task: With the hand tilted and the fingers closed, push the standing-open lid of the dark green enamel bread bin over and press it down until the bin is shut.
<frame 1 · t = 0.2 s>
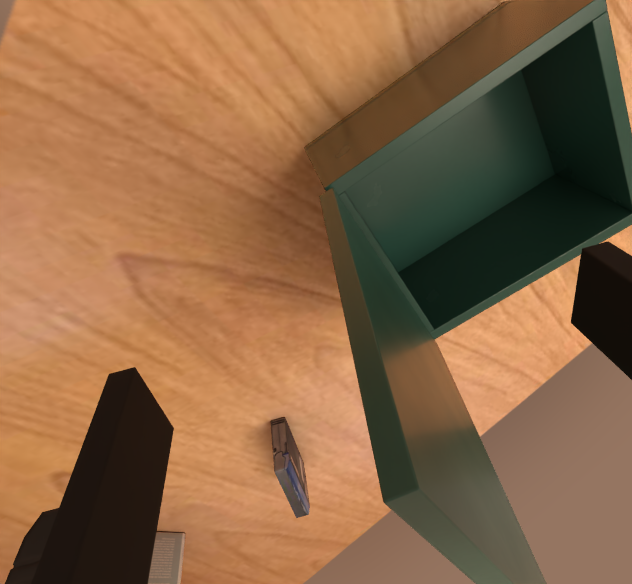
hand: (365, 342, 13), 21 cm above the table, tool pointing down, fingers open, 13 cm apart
bin lid: (424, 381, 19), point 17 cm above the table, hinge at 95.0°
bread bin: (439, 161, 32), on the table
mini dv tape: (287, 441, 47), on the table
hard drive box: (145, 562, 55), on the table
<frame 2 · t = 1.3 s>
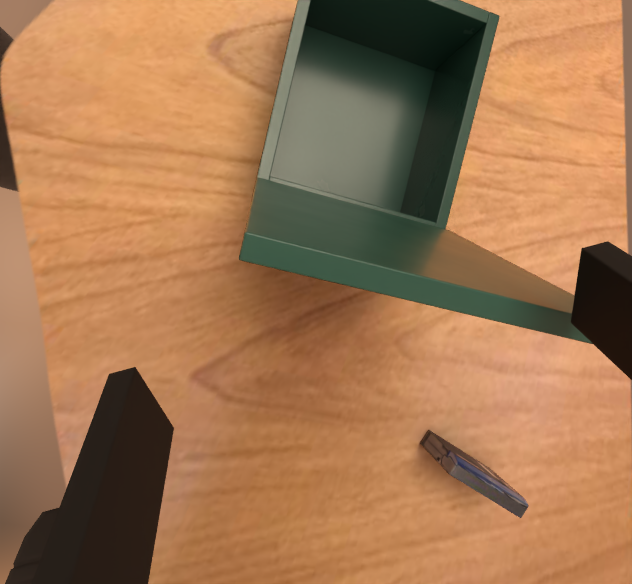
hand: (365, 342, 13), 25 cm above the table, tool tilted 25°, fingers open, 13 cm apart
bin lid: (388, 238, 21), point 17 cm above the table, hinge at 105.1°
bread bin: (348, 133, 37), on the table
mini dv tape: (454, 455, 42), on the table
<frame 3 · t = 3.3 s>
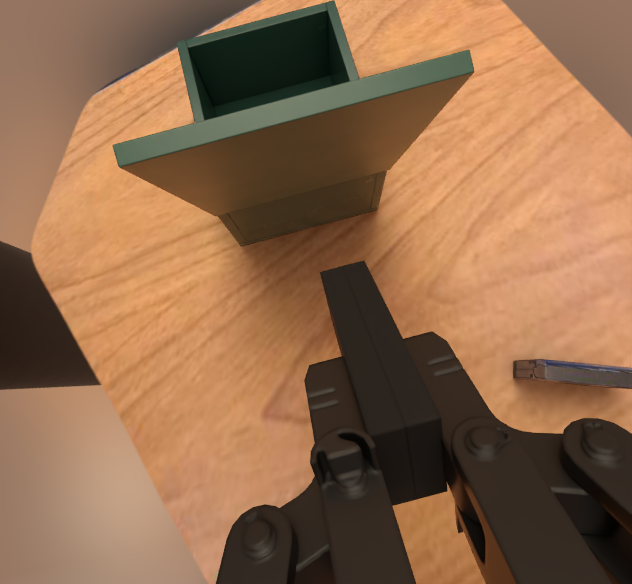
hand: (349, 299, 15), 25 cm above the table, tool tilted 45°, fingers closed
bin lid: (298, 161, 24), point 17 cm above the table, hinge at 105.1°
bread bin: (289, 156, 43), on the table
mini dv tape: (560, 374, 38), on the table
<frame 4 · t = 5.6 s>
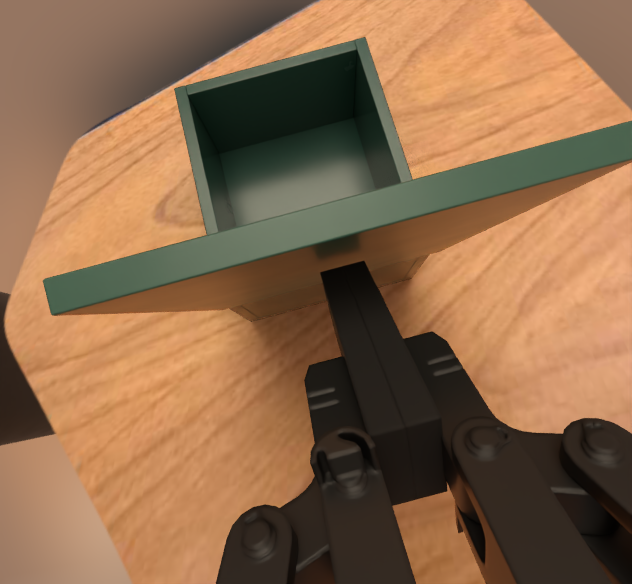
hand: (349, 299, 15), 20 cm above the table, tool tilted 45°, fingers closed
bin lid: (332, 259, 18), point 17 cm above the table, hinge at 99.2°, touching gripper
bread bin: (307, 213, 37), on the table
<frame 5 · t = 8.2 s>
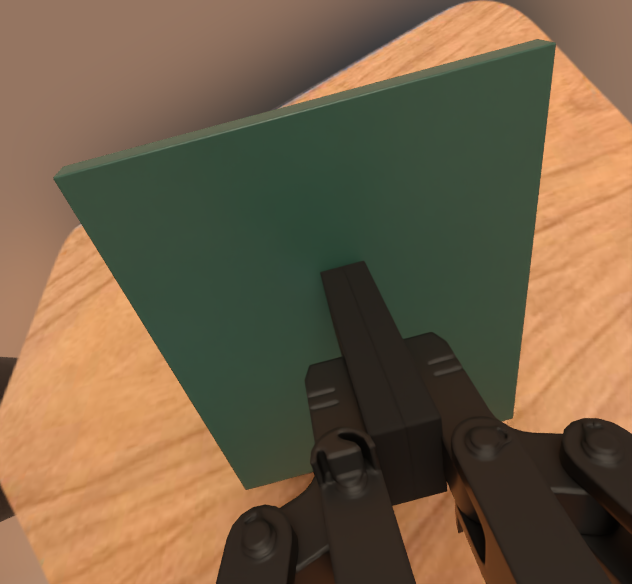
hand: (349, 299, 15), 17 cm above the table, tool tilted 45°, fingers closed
bin lid: (351, 328, 16), point 15 cm above the table, hinge at 48.2°, touching gripper
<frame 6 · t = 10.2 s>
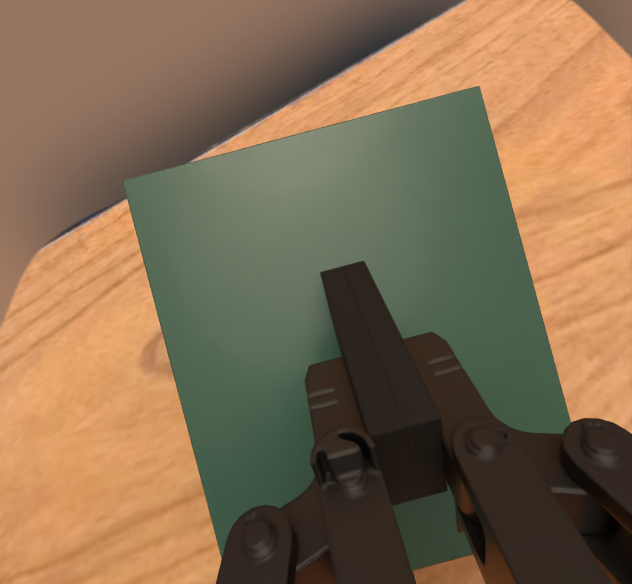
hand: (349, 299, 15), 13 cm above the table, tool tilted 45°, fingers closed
bin lid: (357, 348, 16), point 11 cm above the table, hinge at 10.5°, touching gripper
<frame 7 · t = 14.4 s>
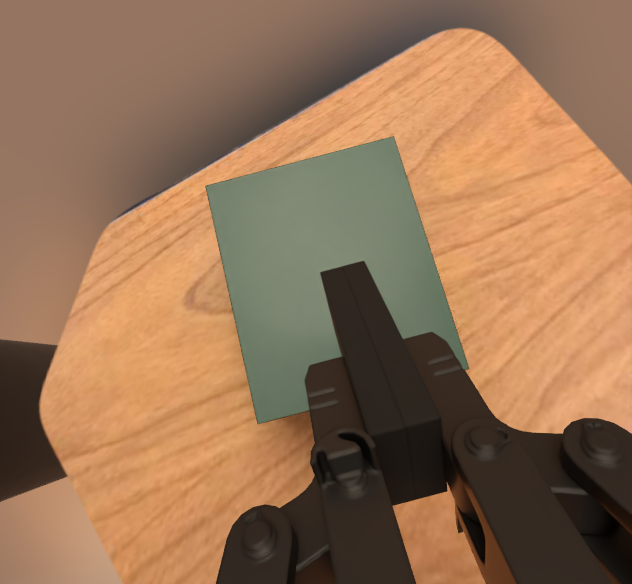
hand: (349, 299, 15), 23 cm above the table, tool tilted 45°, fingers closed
bin lid: (329, 273, 29), point 9 cm above the table, hinge at -0.2°, touching bread bin
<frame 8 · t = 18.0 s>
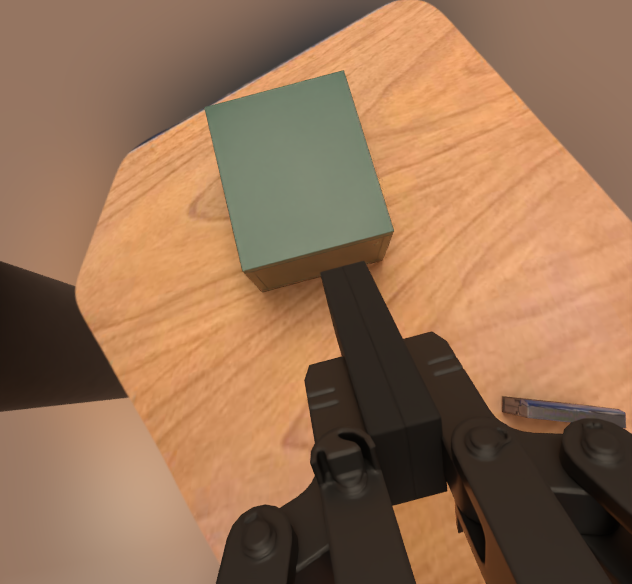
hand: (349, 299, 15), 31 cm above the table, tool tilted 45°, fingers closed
bin lid: (295, 168, 39), point 9 cm above the table, hinge at -0.2°, touching bread bin
bread bin: (304, 210, 48), on the table
mini dv tape: (543, 408, 43), on the table
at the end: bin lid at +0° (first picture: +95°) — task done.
